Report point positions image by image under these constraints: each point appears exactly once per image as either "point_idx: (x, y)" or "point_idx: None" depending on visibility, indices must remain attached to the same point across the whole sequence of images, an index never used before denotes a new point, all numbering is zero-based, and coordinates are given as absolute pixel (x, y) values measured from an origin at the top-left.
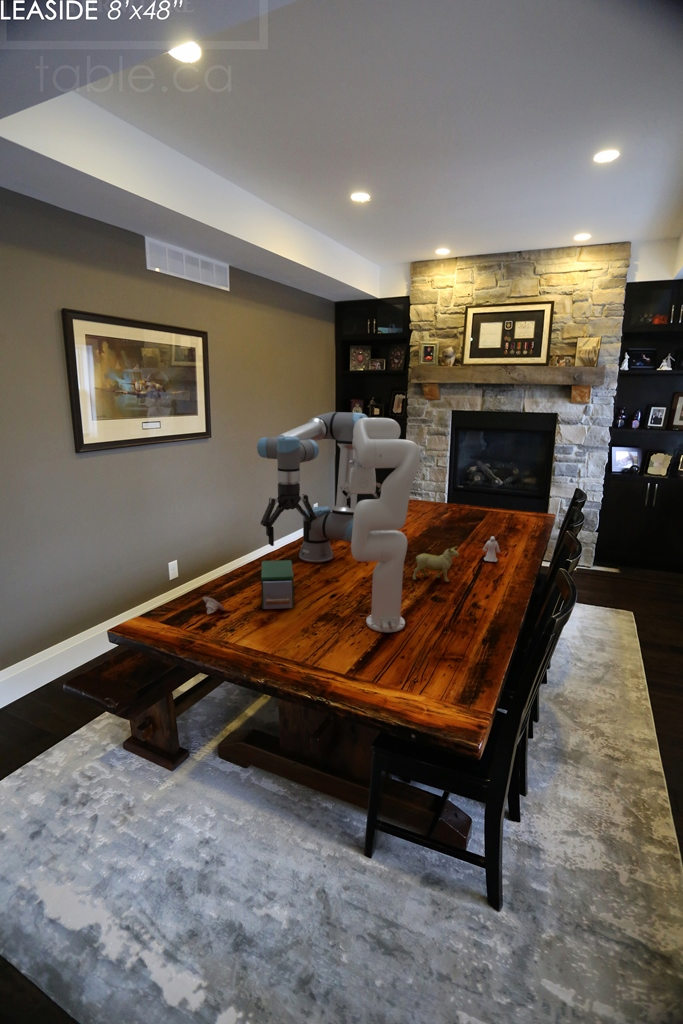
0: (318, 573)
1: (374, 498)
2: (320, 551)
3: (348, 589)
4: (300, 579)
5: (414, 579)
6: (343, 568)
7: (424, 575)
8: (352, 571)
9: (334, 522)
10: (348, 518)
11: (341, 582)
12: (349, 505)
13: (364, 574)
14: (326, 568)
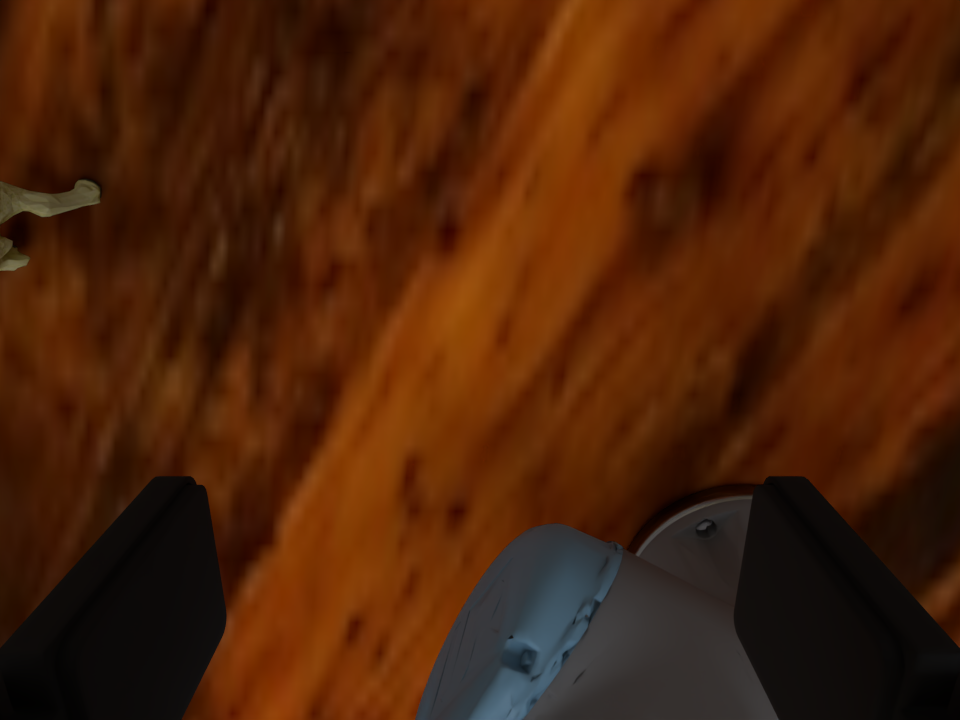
0: (752, 323)
1: (36, 649)
2: (741, 548)
3: (582, 13)
4: (894, 214)
5: (89, 180)
6: (572, 410)
7: (15, 247)
8: (517, 357)
9: (742, 688)
10: (603, 701)
11: (616, 154)
12: (814, 503)
13: (440, 303)
14: (685, 410)
